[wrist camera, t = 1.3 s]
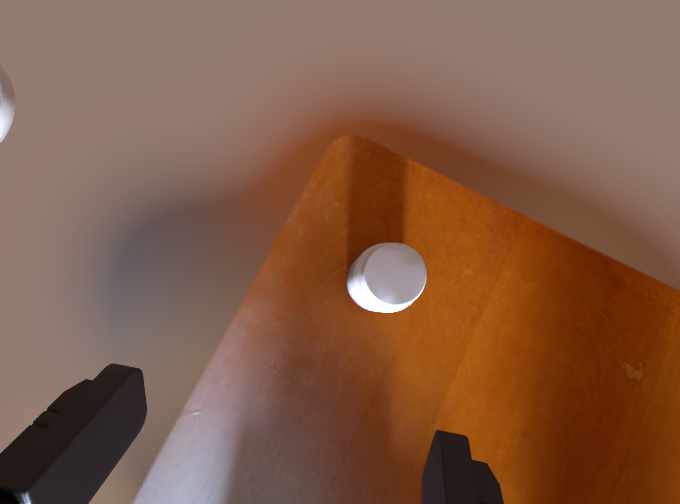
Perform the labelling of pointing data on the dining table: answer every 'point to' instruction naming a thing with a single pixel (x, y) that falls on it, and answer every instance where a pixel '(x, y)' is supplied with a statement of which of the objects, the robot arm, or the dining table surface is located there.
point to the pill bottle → (386, 277)
